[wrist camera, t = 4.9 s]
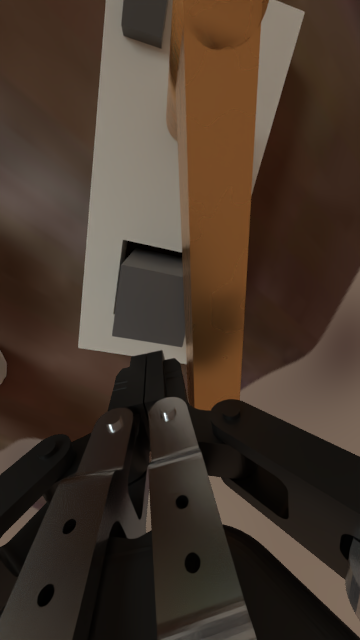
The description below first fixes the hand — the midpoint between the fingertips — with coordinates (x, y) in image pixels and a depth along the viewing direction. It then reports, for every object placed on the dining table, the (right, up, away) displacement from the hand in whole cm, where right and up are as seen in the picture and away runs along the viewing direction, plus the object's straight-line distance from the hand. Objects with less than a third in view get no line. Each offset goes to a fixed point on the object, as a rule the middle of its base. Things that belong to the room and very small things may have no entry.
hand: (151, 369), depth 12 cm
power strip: (0, +10, +7) cm, 13 cm away
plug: (-1, +6, +9) cm, 11 cm away
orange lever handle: (+2, +8, +5) cm, 9 cm away
